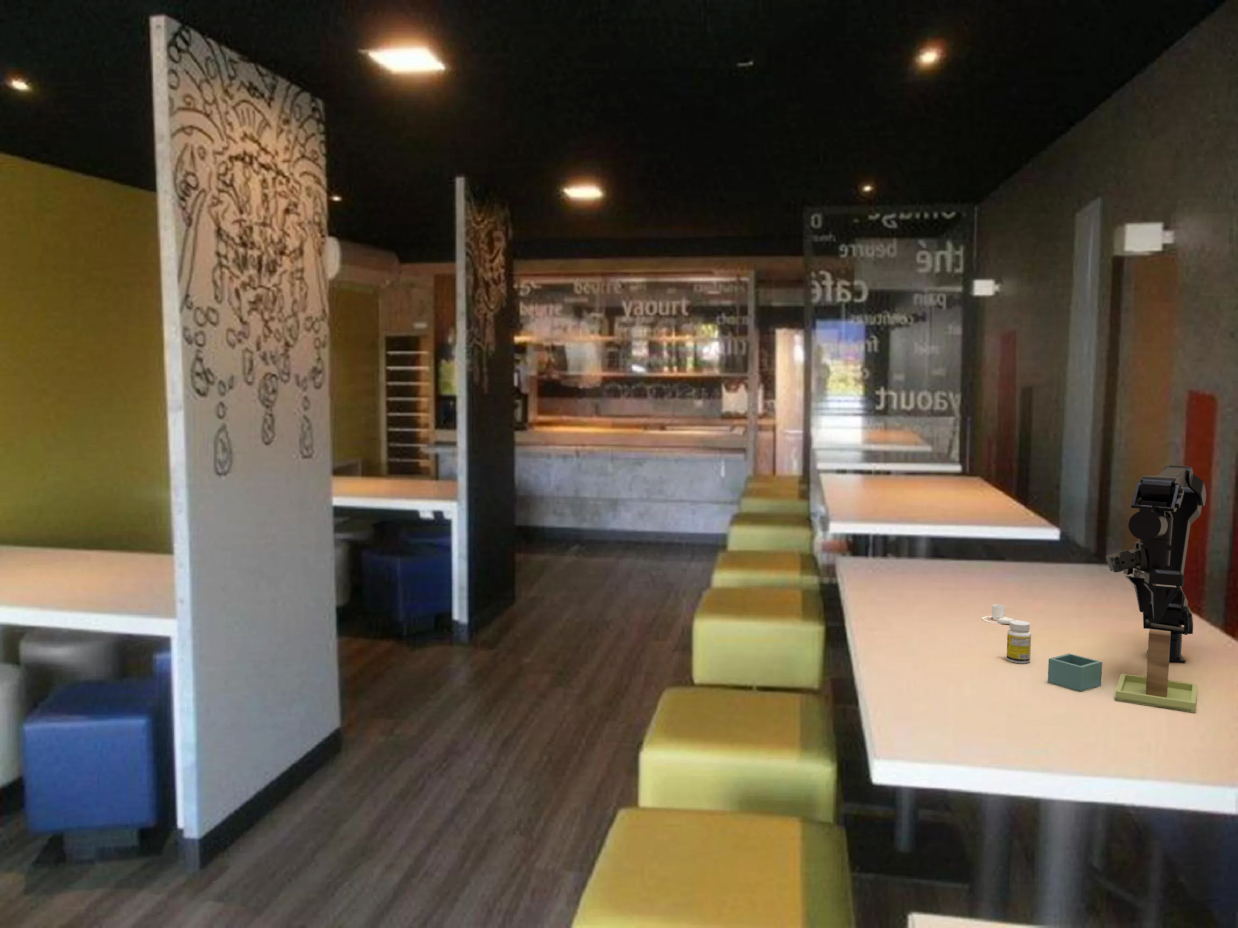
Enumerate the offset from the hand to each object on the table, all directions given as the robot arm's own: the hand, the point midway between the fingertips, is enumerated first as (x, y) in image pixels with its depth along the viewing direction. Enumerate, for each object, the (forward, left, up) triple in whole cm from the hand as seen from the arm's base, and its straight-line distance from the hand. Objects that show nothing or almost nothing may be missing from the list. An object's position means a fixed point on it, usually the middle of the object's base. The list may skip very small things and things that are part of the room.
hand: (1149, 615), depth 196 cm
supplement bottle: (-3, -24, -13) cm, 27 cm away
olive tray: (+13, 0, -13) cm, 18 cm away
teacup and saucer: (-37, -29, -14) cm, 49 cm away
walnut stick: (+13, 0, -12) cm, 18 cm away
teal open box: (+10, -14, -13) cm, 21 cm away
